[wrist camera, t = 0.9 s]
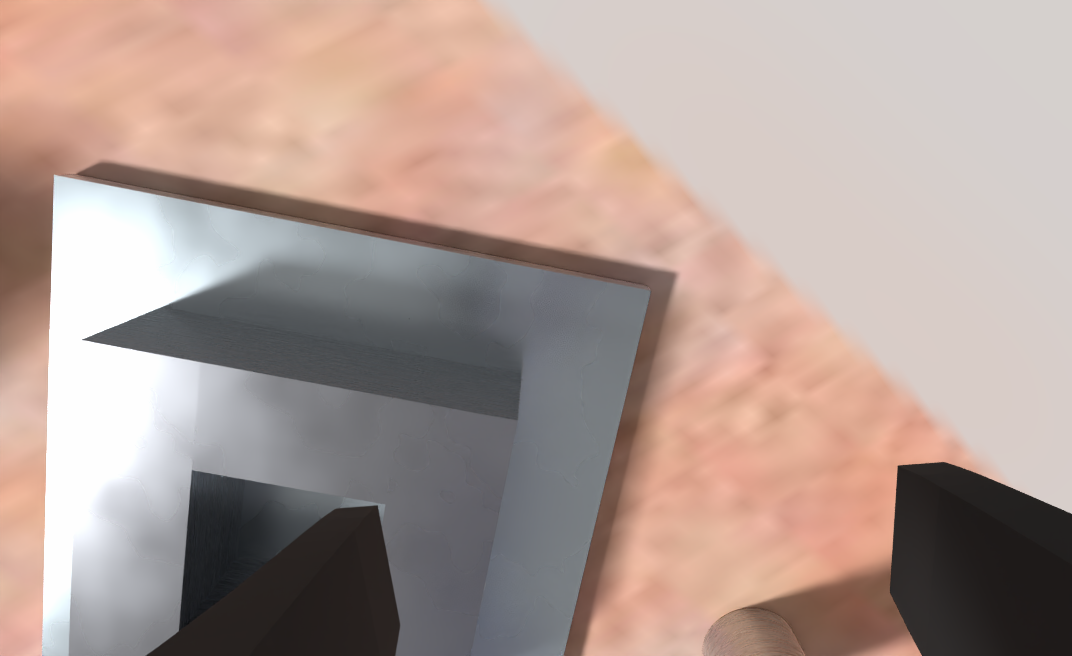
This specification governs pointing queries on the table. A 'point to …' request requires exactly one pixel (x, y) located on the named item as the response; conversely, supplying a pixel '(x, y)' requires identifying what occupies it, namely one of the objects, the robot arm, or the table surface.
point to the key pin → (751, 635)
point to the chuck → (318, 418)
